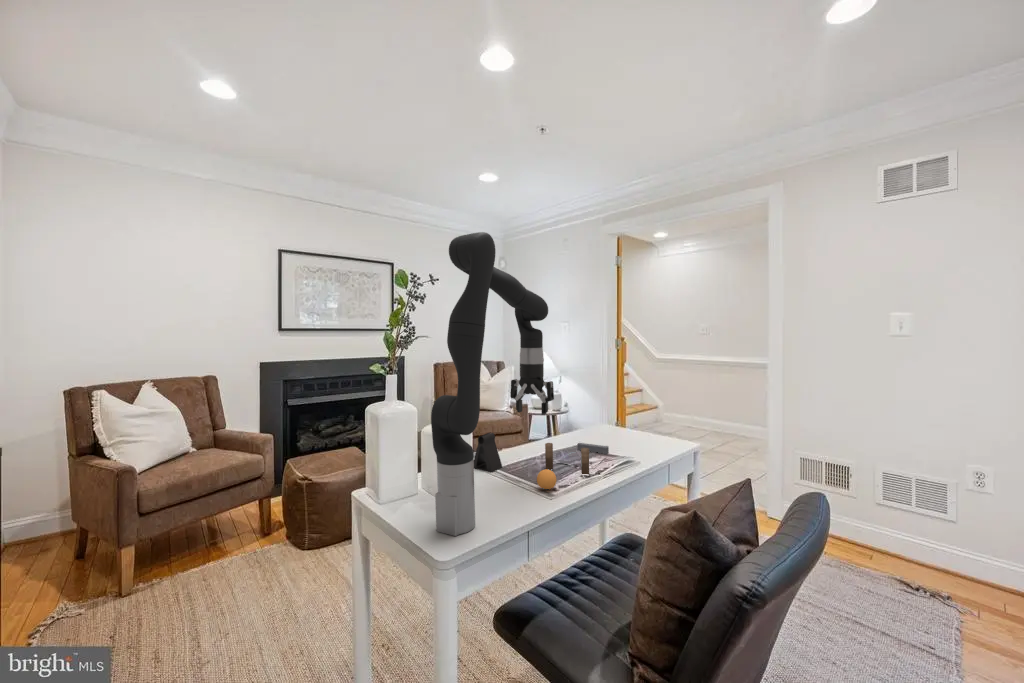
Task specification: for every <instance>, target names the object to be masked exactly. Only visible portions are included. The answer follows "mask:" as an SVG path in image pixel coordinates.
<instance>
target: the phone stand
mask: <svg viewBox="0 0 1024 683" xmlns="http://www.w3.org/2000/svg"><path fill="white" fill-rule="evenodd" d="M501 460H502V459H501V458H500V454H499V450H498V447H497V443H496V435H495V433H494V432H487V433H485V434H483V435H480V436H478V438H477V448H476V451H475V455H474V470H480V471H483V472H488V473H491V472H492V473H493V471H494V472H495V470H496V471H498V470H500V469H502V468H503V464H502V461H501ZM497 469H498V470H497Z"/></svg>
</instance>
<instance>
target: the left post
mask: <svg viewBox="0 0 1024 683" xmlns="http://www.w3.org/2000/svg"><path fill="white" fill-rule="evenodd" d="M553 445H554V444H553V443H552V442H546V443H545V444H544V446H545V447H544V449H545V454H544V455H545V458H544V459H545V460H544V461H545V469H549V470H551V469H553V470H554V446H553Z"/></svg>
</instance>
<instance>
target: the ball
mask: <svg viewBox="0 0 1024 683" xmlns="http://www.w3.org/2000/svg"><path fill="white" fill-rule="evenodd" d="M536 482H537V485H538V487H539V488H540V489H542V488H544V489H549V490H552V489H553V488H554V487H555V486H556V484H557V476H556V473H555V472H554V471H553V470H552V471H551V470H548V469H546V468H545V469H542V470H540V471H539V472H538V473H537V476H536ZM551 488H552V489H551ZM544 489H543V490H544Z"/></svg>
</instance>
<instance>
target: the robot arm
mask: <svg viewBox="0 0 1024 683" xmlns="http://www.w3.org/2000/svg"><path fill="white" fill-rule="evenodd" d="M448 255H449V258H450V262H451V263H452V264H453V265H454V266H455V267H456V268H457V269H458V270H460V271H462V272H463V273H465V274H467V275H468V279H467V283H466V286H465V287H464V291H463V292H462V293H461V295H460V297H459V299H458V300H457V301H456V304H455V305H454V307H453V310H452V311H451V313H450V316H449V321H448V328H447V338H446V344H447V348H448V351H449V355H450V357H451V359H452V360H451V361H452V362H453V365H454V367H455V369H456V374H457V375H456V376H457V390H456V392H457V393H456V395H450V394H445V395H441V396H438V398H436V400H434V403H433V404H432V408H431V412H430V413H431V414H430V423H431V424H430V426H431V435H432V436H431V438H432V447H433V450H434V453H435V455H436V479H437V480H436V481H437V492H436V493H435V495H434V497H435V498H434V499H435V500H434V501H435V531H436V532H439V533H442V534H443V533H444V534H447V535H450V536H453V537H457V536H459V535H463V534H466V533H468V532H471V531H472V530H473V529H474V528H475V527H476V505H475V504H476V502H475V500H476V499H475V497H476V496H475V469H474V458H475V455H474V448H473V446H472V445H471V444H469V443H468V442H467V441H466V440H465V439H464V438H463V437H462V436H469V435H471V434H472V433H473V432H475V430H476V428H477V426H478V425H479V424H478V422H479V420H480V412H481V411H480V410H481V372H482V371H481V370H482V356H483V347H484V341H485V329H486V317H487V310H488V309H487V308H488V307H487V306H488V301H489V293H490V290H492V291H493V292H494V293H496V294H497V295H498V296H499V297H500V298H501V299H502V300H503V301H504V302H506V303H507V304H508V305H509V307H511V308H513V309H514V316H515V319H516V323H517V328H518V331H519V336H520V338H519V339H520V341H519V342H520V349H519V350H520V351H519V377H520V378H519V379H517V378H514V379H511V380H510V392H509V393H510V395H509V396H510V399H514V400H515V410H516V412H517V413H522V412H523V397H524V396H526V395H536V396H537V397H538V398H539V399H540V401H541V416H545V415H547V413H548V411H549V402H551V401H554V400H555V392H554V391H555V389H554V382H553V381H551V380H549V381H544V374H545V373H544V371H545V370H544V369H545V368H544V364H545V363H544V361H545V358H544V346H543V338H544V337H543V335H544V334H543V331H542V330H541V329H539V328H535V327H533V325H532V323H531V322H540V321H544V320H546V318H547V317H548V315H549V306H548V303H547V302H546V300H545V299H544V298H542V297H541V296H540V295H538V294H537V293H535V292H533V291H531V290H529V289H527V288H526V287H525V286H524V285H523V284H522V283H521V282H520V281H519V280H518V279H517V278H516V277H515V276H513V275H512V274H510V273H508V272H506V271H504V270H502V269H499V268H497V267H495V261H496V244H495V241H494V238H493V237H492V235H491V234H490V233H489V232H485V231H479V232H472V233H467V234H463V235H458V236H456V237H454V238H453V239H452V240H451V241H450V243H449V246H448ZM518 386H520V389H519V391H518ZM544 387H545V389H546V392H545V391H544V389H543V388H544Z"/></svg>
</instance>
